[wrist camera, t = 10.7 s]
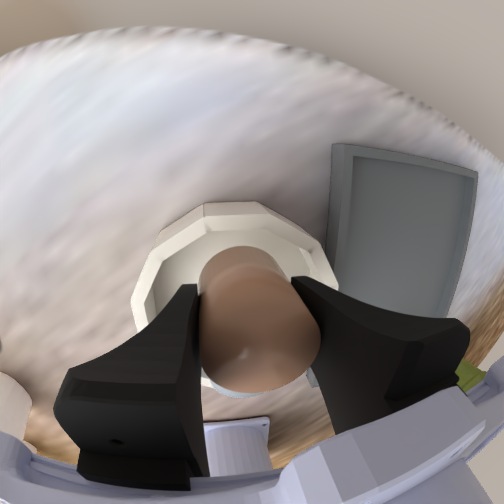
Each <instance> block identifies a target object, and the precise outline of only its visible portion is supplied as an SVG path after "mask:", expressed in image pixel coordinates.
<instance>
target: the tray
mask: <svg viewBox="0 0 504 504" xmlns="http://www.w3.org/2000/svg"><path fill="white" fill-rule="evenodd" d="M477 183H478V172H476V171H473V170H470V169H466V168H463V167H459V166H456V165H452V164H448V163H444V162H440V161H436V160H432V159H428V158H423V157H419V156H414V155H409V154H404V153H399V152H393V151H388V150H382V149H376V148H369V147H363V146H355V145H348V144H332V163H331V184H330V200H329V214H328V226H327V237H326V247H325V256H326V258H327V260H328V262H329V264H330V267H331V269H332V271H333V273H334V276H335V278H336V280H337V282H338V285H339V287H338V291H339V292H341V293H343V294H346V295H348V296H350V297H352V298H355V299H357V300H359V301H362V302H365V303H367V304H370V305H373V306H376V307H379V308H383V309H386V310H390V311H394V312H399V313H403V314H408V315H414V316H422V317H431V318H446V316H447V314H448V311H449V308H450V305H451V302H452V299H453V296H454V293H455V290H456V287H457V284H458V280H459V277H460V273H461V270H462V266H463V262H464V258H465V254H466V250H467V245H468V241H469V236H470V231H471V226H472V220H473V214H474V207H475V200H476V192H477ZM306 376H307V378H308V380H309V382H310V385H311V387H312V388H313V387H318V386H319V384H318V382H317V379H316V377H315V375H314V373H313V371H312V369H311V367H309V368H308V369H307V374H306Z"/></svg>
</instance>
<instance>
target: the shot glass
mask: <svg viewBox="0 0 504 504" xmlns="http://www.w3.org/2000/svg"><path fill="white" fill-rule="evenodd" d="M31 408H32V400H31V398H30V395H29V394H28V393H27V392H26V390H25V389H24V388H23V387H22V386H21V385H20V384H19V383H18V382H17V381H16V380H14V379H13V378H11V377H10V376H9V375H7V374H4V373H2V372H0V431H3V432H5V433H7V434H10V435H12V436H14V437H16V438H18V439H19V440H21V441H22V442H23V438H24V434H25V430H26V426H27V422H28V418H29V415H30V411H31Z"/></svg>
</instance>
